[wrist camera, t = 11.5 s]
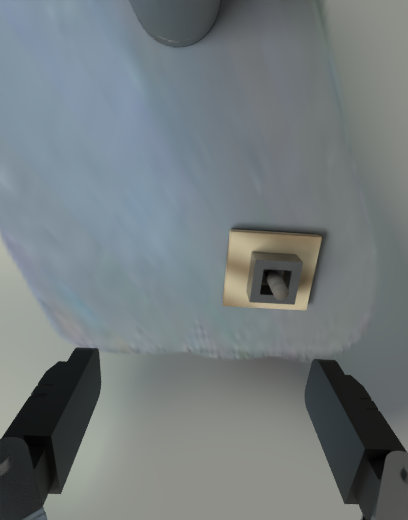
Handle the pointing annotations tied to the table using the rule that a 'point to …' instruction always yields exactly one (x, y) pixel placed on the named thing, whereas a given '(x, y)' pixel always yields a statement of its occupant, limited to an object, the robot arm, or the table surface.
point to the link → (273, 262)
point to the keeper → (272, 243)
